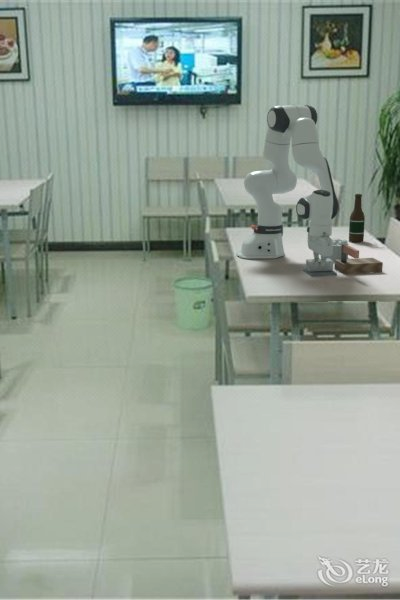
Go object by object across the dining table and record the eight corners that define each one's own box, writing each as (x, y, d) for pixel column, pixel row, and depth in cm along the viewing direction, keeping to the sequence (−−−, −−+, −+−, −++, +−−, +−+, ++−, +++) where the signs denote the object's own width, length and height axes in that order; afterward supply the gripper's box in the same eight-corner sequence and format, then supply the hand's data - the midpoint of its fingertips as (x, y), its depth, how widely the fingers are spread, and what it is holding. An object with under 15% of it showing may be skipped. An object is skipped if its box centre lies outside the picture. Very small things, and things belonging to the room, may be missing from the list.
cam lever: (339, 260, 288) (340, 243, 286) (345, 260, 288) (346, 243, 286) (353, 268, 274) (354, 250, 272) (359, 268, 274) (360, 250, 272)
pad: (311, 276, 280) (311, 274, 280) (302, 270, 290) (302, 268, 290) (336, 274, 282) (336, 272, 282) (327, 268, 292) (327, 267, 292)
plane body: (343, 274, 283) (343, 264, 282) (334, 268, 292) (334, 259, 291) (382, 272, 286) (382, 262, 285) (372, 266, 295) (372, 257, 294)
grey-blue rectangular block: (309, 271, 283) (309, 262, 282) (305, 268, 287) (306, 259, 286) (332, 270, 284) (333, 261, 283) (328, 267, 289) (329, 258, 288)
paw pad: (344, 255, 318) (345, 237, 316) (350, 261, 306) (351, 242, 304) (321, 256, 318) (322, 237, 316) (327, 262, 306) (327, 242, 303)
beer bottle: (352, 239, 357) (355, 192, 351) (366, 241, 353) (369, 193, 346) (345, 241, 352) (347, 194, 345) (359, 243, 347) (362, 195, 340)
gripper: (337, 234, 272) (335, 269, 276) (319, 226, 291) (318, 258, 295) (322, 235, 271) (320, 269, 275) (305, 227, 290) (304, 259, 294)
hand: (319, 263), depth 285 cm, fingers open, 5 cm apart
